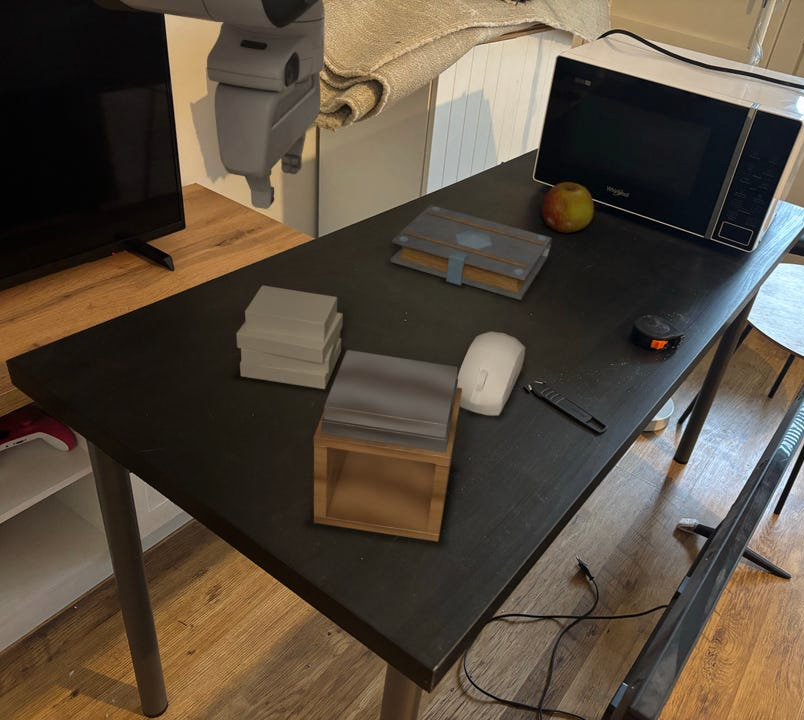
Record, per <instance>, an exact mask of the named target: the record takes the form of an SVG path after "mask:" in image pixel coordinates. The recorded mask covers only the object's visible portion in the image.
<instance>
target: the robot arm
mask: <svg viewBox="0 0 804 720" xmlns="http://www.w3.org/2000/svg"><path fill="white" fill-rule="evenodd" d="M91 1H92V2H93V3H94V4H96V5H97V6H99V7H101V8H103V9H106V10H110V11H122V12H135V13H136V12H137V13H155V14H163V15H169V16H175V17H182V18H187V19H188V18H189V19H195V20H201V21H209V22H214V23H221V25H220V30H219V34H218V37H217V39H216V41H215V43H214V45H213V47H212V48H211V49H210V51H209V53H208V55H207V56H206V57H207V58H206V72H207V77H208V79H209V80H210V81H211V82H215V83H217V85H216V87H215V92H214V116H215V117H214V118H215V126H216V135H217V136H216V137H217V144H218V152H219V157H220V161H221V163H222V165H223V167H224V169H225V171H226V172H227V173H228V174H230V175H233V176H241V177H244V178H245V181H246V183H247V185H248V188H249V189H250V197H251V198H250V201H251V205H252V206H253V207H254V208H258V209H262V210H268V209H269V208H270V207H271V206H272V205H273V203H274V202H275V187H274V186H272V183H271V175H272V173H273V172H272V169H273V168H274V167H275V166H276V165H277V163H278V162H281V167H280V169H281V171H282V173H284V174H291V175H296V174H298V173H299V171H300V170H302V165H303V164H302V162H303V151H304V146H305V141H306V136H307V131H308V129H309V128H310V127H311V126H312V125H313V124H314V122H316V120H318V118H319V115H320V112H321V111H320V110H321V101H322V100H321V98H322V97H321V72H322V71H323V70H324V68H325V31H326V30H325V29H326V25H325V23H326V22H325V21H326V17H325V16H326V12H325V11H326V10H325V5H324V1H323V0H91Z"/></svg>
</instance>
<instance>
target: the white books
mask: <svg viewBox="0 0 804 720" xmlns="http://www.w3.org/2000/svg"><path fill="white" fill-rule="evenodd" d="M343 314H344V313H342V312H337V315H336V317H335V319H334V322H333V324H332V326H331V328H330V330H329V332H328V335H327V337H326V339H325V341H324V342H322V341H316V340H310V339H303V338H297V337H290V336H284V335H277V334H271V333H265V332H258V331H252V330H246V320H245V321H244V323H243V324H242V325H241V326H240V328H239V329H238V331H237V332H236V333H235V335H236V347H237V348H238V349H240V357H241V360H240V362H239V370H240V371H239V372H240V377H243V378H244V377H245V378H249V379H255V380H261V381H262V380H264V381H269V382H276V383H283V384H288V385H294V386H301V387H308V388H314V389H322V390H326V388H327V386H328V383H329V381H330V379H331V377H332V373H333V371H334V369H335V366H336V364H337V361H338V360H339V358H340V355H341V352H342V338H341V330H342V328H343V323H344V321H343V320H344V319H343V318H344V315H343Z"/></svg>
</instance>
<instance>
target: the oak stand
mask: <svg viewBox="0 0 804 720" xmlns="http://www.w3.org/2000/svg"><path fill="white" fill-rule="evenodd" d="M458 371H459V367H458V366H453V365H448V364H441V363H434V362H428V361H422V360H415V359H409V358H403V357H395V356H390V355H383V354H377V353H371V352H363V351H358V350H350V349H346V351H345V354H344V357H343V359H342V362H341V364H340V366H339V369H338V371H337V374H336V376H335V378H334V381H333V383H332V386H331V389H330V391H329V393H328V396H327V398H326V400H325V403H324V406H323V413H322V414H321V415H322V416H321V418H320V420H319V421H318V425H317V427H316V430H315V432H314V435H313V523H314V524H321V525H327V526H334V527H340V528H346V529H352V530H359V531H366V532H373V533H379V534H385V535H391V536H392V535H393V536H399V537H405V538H412V539H418V540H424V541H425V540H426V541H431V542H437V543H438V542H439V539H440V533H441V527H442V521H443V516H444V510H445V503H446V496H447V490H448V485H449V479H450V474H451V473H450V472H451V468H452V467H451V466H452V459H453V453H454V446H455V440H456V433H457V428H458V427H457V426H458V421H459V420H458V419H459V413H460V408H461V407H460V400H461V394H462V388H457V385H458V379H457V377H458Z"/></svg>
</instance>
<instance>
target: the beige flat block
mask: <svg viewBox="0 0 804 720" xmlns="http://www.w3.org/2000/svg"><path fill="white" fill-rule="evenodd" d="M337 313H338V297H337V296H331V295H327V294H320V293H313V292H306V291H299V290H293V289H287V288H281V287H276V286H275V287H274V286H269V285H268V286H267V285H261V287H260V288H259V289H258V291H257V293H256V294H255V296H254V297H253V299H252V300H251V302H250V303H249V305H248V306H247V307H246V309H245V310H244V316H245V318H244V319H245V321H246V330H252V331H258V332H265V333H271V334H277V335H284V336H290V337H297V338H303V339H310V340H316V341H322V342H324V341H325V339H326V337H327V335H328V332H329V330H330V328H331V326H332V324H333V322H334V319H335V317H336V315H337Z"/></svg>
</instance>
